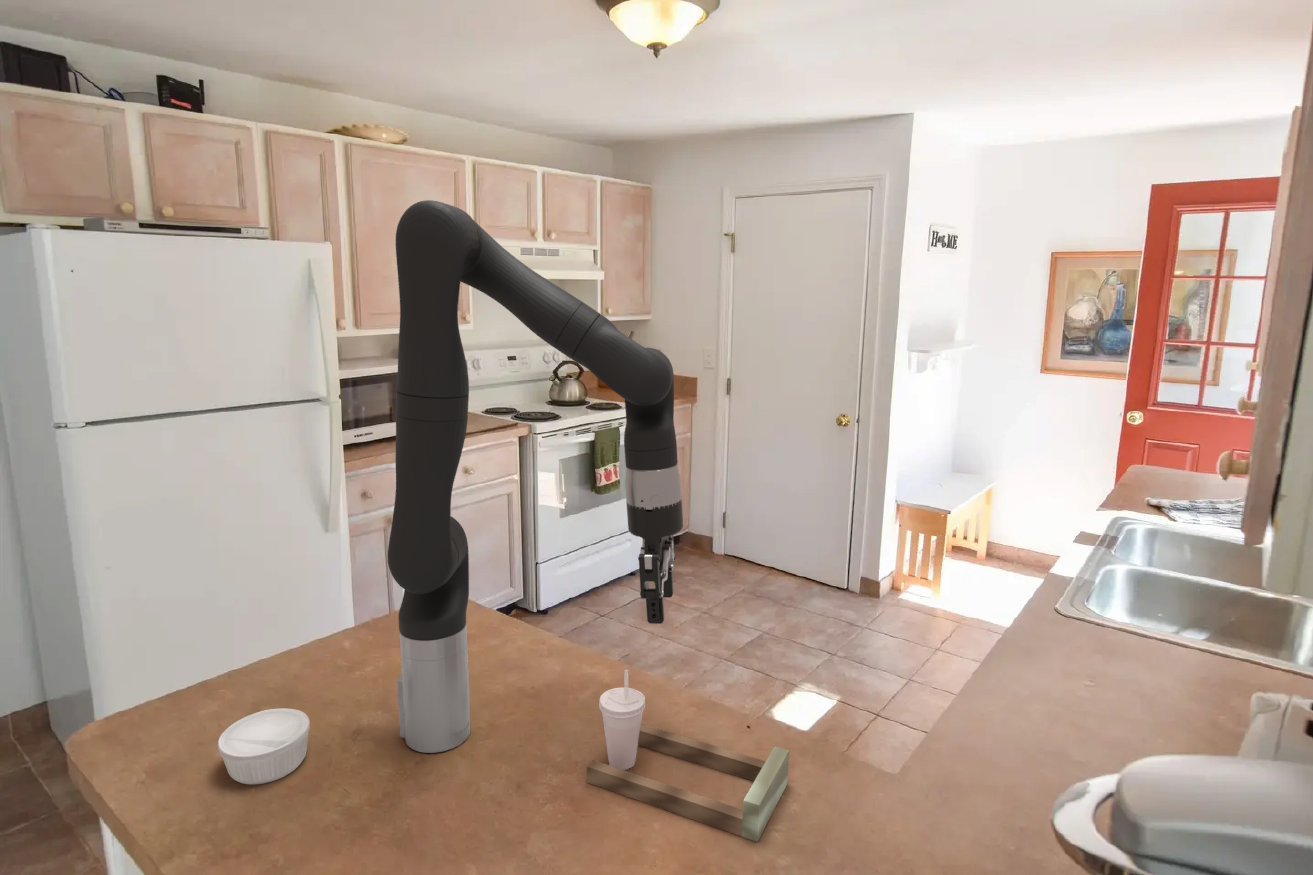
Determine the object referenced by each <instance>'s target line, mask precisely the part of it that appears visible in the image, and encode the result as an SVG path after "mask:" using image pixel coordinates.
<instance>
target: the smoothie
mask: <svg viewBox="0 0 1313 875" xmlns="http://www.w3.org/2000/svg"><path fill="white" fill-rule="evenodd" d="M629 672H630V671H629V669H624V673H623V674H624V675H623V676H624V677H623V678H624V682H623V683H624V687H623V686H622V687H614V688H611V689H608V690H605V691H604V692H603V693H602V694H601V695H600V697H599V704H598V708H599V710H600V711H601V715H602V720H603V728H604V735H605V743H606V744H605V745H606V749H607V750H606V751H607V759H608V765H610V766H613V767H616V768H619V769H622V770H625V771H627V770H630V769H631V768H632V767H634V766H635V764H636V759H637V753H638V746H639V745H638V739H639V732H640V725H641V724H642V718H643V711H644V710H645V708H646V698H645V697H646V696H645V695H644V694H643V693H642V692H641V691H639V690H637V689H635V688H631V687H629ZM629 768H630V769H629Z"/></svg>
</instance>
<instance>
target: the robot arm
mask: <svg viewBox="0 0 1313 875" xmlns="http://www.w3.org/2000/svg"><path fill="white" fill-rule="evenodd" d="M395 232H396V233H395V254H396V256H395V257H396V267H397V269H396V271H397V282H398V293H399V332H398V348H397V352H398V353H397V377H396V387H395V388H396V391H395V392H396V393H395V498H394V505H393V513H392V521H391V526H390V534H389V535H390V536H389V540H388V541H389V542H388V547H387V564H388V568H389V572H390V573H391V576H392V578H393V580H394V581H395V583H396V584H398V586H399V587H401V588H402V589H404V591H403V597H402V601H401V603H400V607H399V611H398V633H399V646H400V647H399V649H400V662H401V663H400V664H401V674H399V675H398V677H396V688H397V689H396V690H397V705H398V721H399V737H400V738H403V739H404V740H405V743H406V745H407V746H408V748H410V749H412V750H413V751H416V752H419V753H426V754H428V753H430V754H433V753H435V754H436V753H442V752H446V751H448V750H452V749H454V748H456V747H459V746H460V745H462V744H463V743H464V742H465V741H467V739H468V738H469V736H470V733H471V713H470V710H471V707H470V685H469V684H470V683H469V682H470V680H469V679H470V678H469V658H468V653H469V651H468V634H467V633H468V632H467V631H468V630H467V608H468V604H469V596H470V562H469V560H470V557H469V542H468V538H467V535H466V532H465V530H464V527H463V526H462V524H460V522H459V521H458V520H457V519H456V518H454V517H453V516H451V515H452V514H451V506H452V493H453V488H454V482H455V479H456V476H457V475H456V474H457V472H458V467H459V464H460V461H461V457H462V452H463V450H464V449H463V448H464V445H465V439H466V436H467V435H466V434H467V429H468V428H467V427H468V418H469V400H470V399H469V397H470V396H469V395H470V394H469V393H470V383H469V382H470V379H469V371H468V366H467V365H468V364H467V360H466V356H465V351H464V347H463V343H462V338H461V333H460V326H459V315H458V313H459V297H460V288H461V283H463V284H465V285H467V286H469V287H472V288H474V289H475V290H477V291H479V292H481V293H483V294H484V295H486V296H488V297H489V298H491V299H492V300H494V301H496V302H497V303H498V304H499V305H501V306H502V307H503V308H504V309H506V310H507V311H509V312H510V313H511V314H512V315H513V316H515V318H517V319H518V320H519V321H520V322H521V323H522V324H523V325H524V326H525V327H526V328H528V329H529V330H530V331H531V332H532V333H534V334H535V335H536V336H537V337H538V338H540V339H541V340H542V341H543V342H546V344H548V345H550V346H551V347H552V348H554V349H555V350H557V351H559V352H560V353H562V354H563V355H565V356H566V357H568V358H569V359H570V360H572V361H574V362H575V363H577V364H579V365H580V366H582V367H584V368H586V369H587V370H589V372H590V373H592V375H594V376H595V377H596V378H597V379H598V380H600V381H601V382H602V383H603V384H604V385H606V386H607V387H608V388H609V389H610V390H612V391H613V392H614V393H615V394H617V395H618V396H620V397H621V398H623V400H624V408H625V409H624V410H625V416H626V417H625V419H626V420H625V421H626V423H625V428H624V433H623V434H624V435H623V446H624V458H625V460H624V461H625V478H624V479H625V480H624V488H625V489H624V490H625V501H626V514H627V518H626V519H627V528H628V531H629V533H630V534H631V535H633V536H634V537H639V538H642V540H644V541H643V546H641V547H640V553H639V554H638V559H637V560H638V569H639V585H640V588H639V589H640V593H639V594H640V598H641V600H642V599H643V600H644V599H645V603H646V604H645V605H646V617H647V618H646V619H647V620H646V621H647V622H648V623H649V624H652V625H653V624H657V625H658V624H660V625H661V624H663V623H664V621H665V608H664V598H672V597H673V595H674V583H673V580H674V579H673V570H674V568H675V565H674V563H675V561H676V556H675V542H674V535H676V534H678V533H679V532H681V531H682V530H683V528H684V518H683V517H684V516H683V500H682V484H681V482H682V481H681V475H680V470H679V463H678V461H679V460H678V459H679V458H678V447H677V446H678V445H677V442H678V441H677V435H676V429H675V423H674V421H675V419H674V418H675V417H674V414H675V412H674V411H675V407H674V406H675V382H674V381H675V380H674V369H673V365H672V363H671V361H670V359H669V358H668V356H667V355H665V353H663V352H662V351H661V350H659V349H656V348H653V347H645V346H642V345H641V344H640V343H639V342H636V341H635V340H634V339H633V338H630V336H627V335H626V334H624V333H622V332H621V331H620V330H619V329H618V328H617V326H616V325H615V324H614V323H613V322H612V321H611V320H610V319H609V318H607V317H606V316H604V315H603V314H601V313H600V312H598V311H597V310H596V309H594V308H592V307H591V306H590V305H588V304H586V303H585V302H583V301H582V300H581V299H579V298H577V297H575V296H574V295H573V294H571V293H569V292H568V291H567V290H565V289H563V288H561V287H560V286H558V285H556V284H555V283H553V282H552V281H550V280H549V279H547V278H546V277H544V276H542V275H541V274H539V273H537V272H536V271H535V270H533V269H531V268H530V267H528V266H527V265H526V264H524V263H523V262H522V261H520V260H519V259H518V258H516V256H514V255H512V254H511V253H510V252H509V251H508V250H507V249H505V248H504V247H503V246H502V245H501V243H498V241H496V240H495V239H494V237H492V236H491V235H490V234H489V233H488V232H487V231H486V230H485V229H483V227H482V226H480V225H479V224H478V222H476V221H475V220H474V219H473V218H472V216H471V215H469V214H468V213H467V212H466V210H465V211H464V210H463V209H461V208H459V207H457V206H455V205H451V204H448V203H444V202H442V201H437V200H432V199H431V200H427V199H426V200H420V201H417V202H415V203H413V204H412V205H410V206H409V207H408V208H407V209H406V210H405V211H404V212H403V214H402V215H401V217H400V220H399V221H398V223H397V226H396V231H395ZM650 582H654V588H652V587H651V588H650Z"/></svg>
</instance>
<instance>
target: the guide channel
mask: <svg viewBox="0 0 1313 875" xmlns="http://www.w3.org/2000/svg"><path fill="white" fill-rule="evenodd" d="M638 746H641V747H643V748H645V749H646V748H647V749H650V750H653V751H656V752H659V753H663V754H664V755H669V756H672V757H676V758H678V759H682V760H685V761H687V762H688V761H689V762H691V763H694V764H698V765H701V766H702V767H703V766H704V767H707V768H709V769H713V768H714V769H713V770H716V769H717V771H719V770H720V771H719V772H723V773H726V774H729V775H733V776H735V777H739V778H742V779H746V780H749V781H751V782H753V783H752V785H751V786H750V788H749V789H748V792H747V793H746V795H745V796H744V799H743V802H742V809H741V808H739V807H736V806H732V805H730V804H726V803H724V802H721V801H717V800H714V799H712V798H708V797H705V796H702V795H700V794H696V793H693V792H691V791H687V790H686V789H685V790H684V789H681V788H678V787H676V786H673V785H669V784H667V783H663V782H661V781H657V780H654V779H652V778H649V777H645V776H642V775H640V774H636V773H634V772H631V771H627V770H622V769H619V768H616V767H613V766H610V765H609V764H607V763H603V762H601V761H599V760H595V759H593V760H591V762H590V763H588V764H587V765H586V783H588V784H591V785H594V786H596V787H598V788H602V789H605V790H607V791H610V792H612V793H616V794H618V795H622V796H625V797H628V798H631V799H633V800H637V801H639V802H642V803H644V804H648V805H650V806H654V807H656V808H659V809H662V810H665V811H668V812H671V813H673V814H676V815H679V816H682V817H683V818H684V817H685V818H687V819H690V820H693V821H697V822H699V823H702V824H704V825H708V826H709V827H713V828H715V829H719V830H722V831H725V832H727V833H730V834H733V835H736V836H738V837H742V838H745V839H747V840H750V841H754V842H755V843H758V842H759V840H760V838H761V836H762V835H763V832H764V830H765V828H766V826H767V825H768V822H769V820H770V819H771V817H772V815H773V813H774V811H775V809H776V806H777V804H778V803H779V801H780V799H781V797H782V795H783V793H784V791H785V789H786V787H787V785H788V778H789V777H788V776H789V762H790V761H789V758H790V750H789V749H785V748H782V747H778V746H774V747H773V748H772V750H771V751H770V754H769V755H768V757H767V759H766V760H763V759H760V758H757V757H754V756H750V755H747V754H743V753H739V752H737V751H733V750H729V749H726V748H724V747H721V746H720V747H719V746H716V745H713V744H709V743H708V742H703V741H699V740H697V739H692V738H690V737H686V736H682V735H680V734H676V733H674V732H669V731H667V730H663V729H660V728H656V727H653V726H650V725H646V724H643V723H641V725H640V732H639V739H638Z"/></svg>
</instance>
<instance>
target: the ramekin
mask: <svg viewBox="0 0 1313 875" xmlns="http://www.w3.org/2000/svg"><path fill="white" fill-rule="evenodd" d="M310 727H311V722H310V718H309V716H308V715H307V714H306V713H305V712H304V711H302V710H299V709H294V708H285V707H284V708H280V707H279V708H270V709H265V710H261V711H257V712H254V713H252V714H249V715H246V716H244V717H243V718H242V717H241V719H239V720H237V721H235V722H234V723H232V724H231V725H229V726H228V727H227V728H226V729H225V730H224V731H222V733H221V734H220V735H219V738H218V739H217V740H218V741H217V750H218V753H219V755H220V756H221V757H222V759H223V760H222V761H223V763H224V765H225V767H226V771H227V773H228V775H229V777H231V779H233V780H234V781H236V782H238V783H241V784H244V785H252V786H253V785H263V784H266V783H271V782H274V781H277V780H279V779H282V778H285V777H286V776H287V775H290V774H291V773H293V772H294V771H295V770H297V768H298V767H299V766H300V765H301V764H302V762H303V760H304V759H305V757H306V754H307V751H308V739H309V733H310V732H309V731H310V729H311V728H310Z"/></svg>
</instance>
